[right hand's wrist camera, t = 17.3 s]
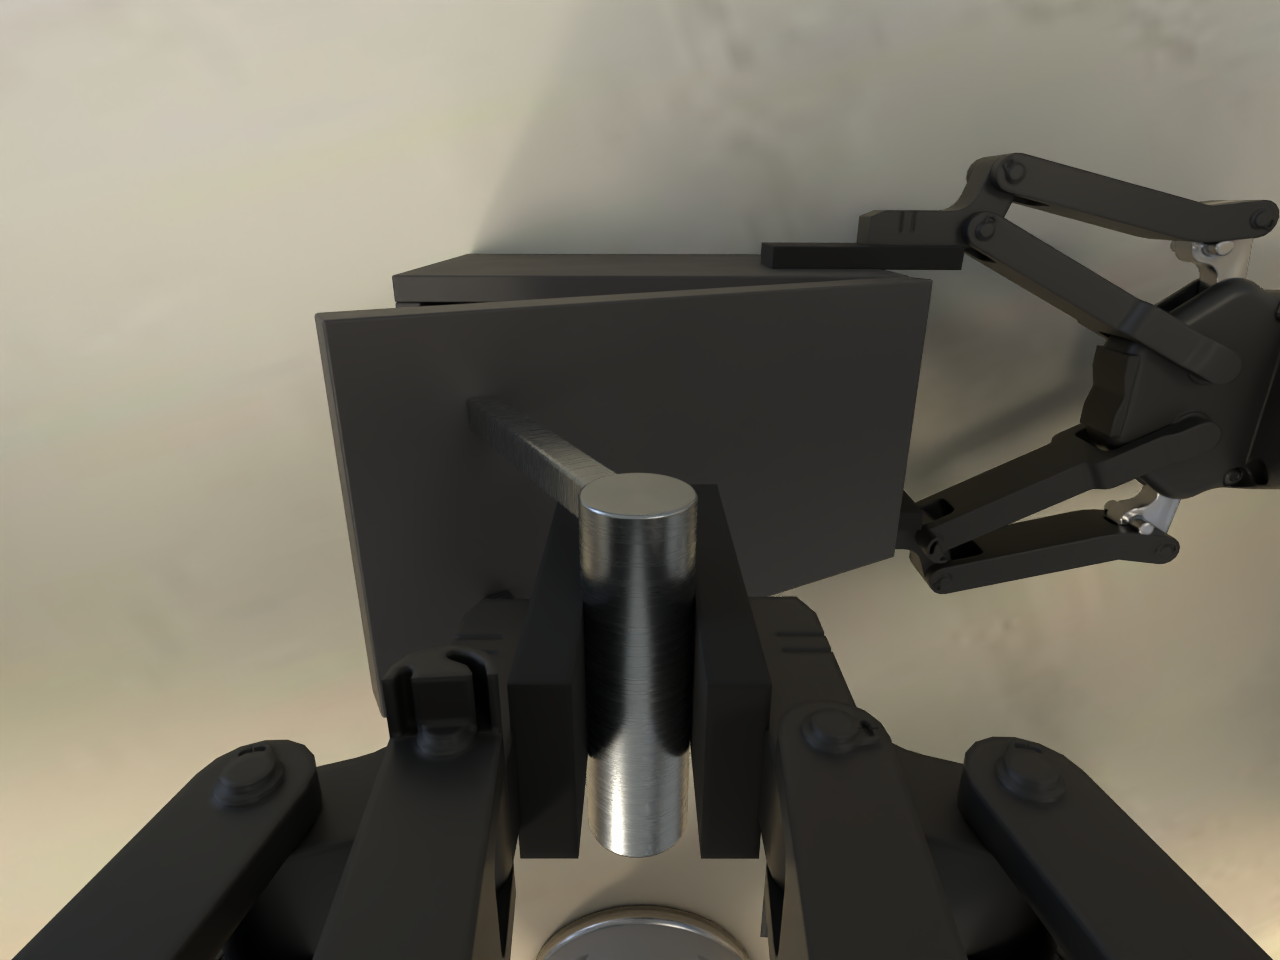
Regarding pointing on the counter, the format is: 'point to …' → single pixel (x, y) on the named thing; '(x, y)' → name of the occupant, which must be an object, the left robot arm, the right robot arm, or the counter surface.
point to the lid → (619, 478)
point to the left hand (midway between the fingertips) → (758, 389)
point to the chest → (594, 276)
